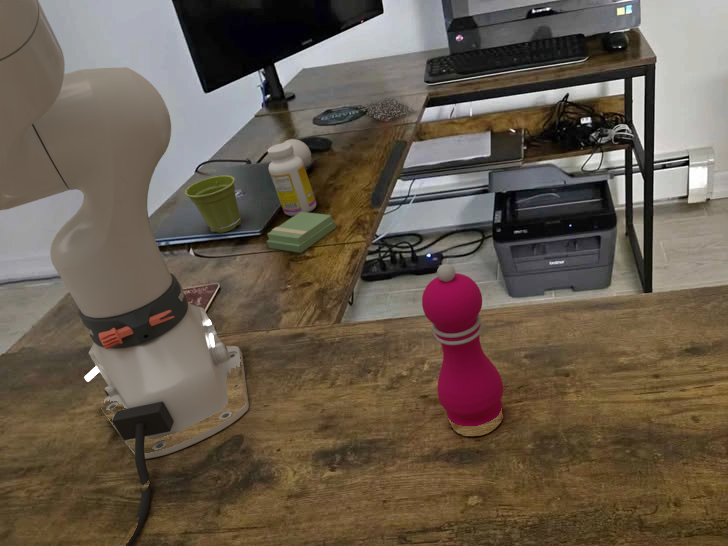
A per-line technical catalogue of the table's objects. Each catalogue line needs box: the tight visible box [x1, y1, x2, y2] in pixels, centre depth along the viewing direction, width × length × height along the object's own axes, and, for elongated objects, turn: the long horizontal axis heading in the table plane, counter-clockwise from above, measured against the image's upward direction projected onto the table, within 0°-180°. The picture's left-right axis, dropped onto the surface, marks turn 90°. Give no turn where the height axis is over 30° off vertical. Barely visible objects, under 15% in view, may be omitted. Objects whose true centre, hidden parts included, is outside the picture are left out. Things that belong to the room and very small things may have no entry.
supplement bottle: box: [267, 142, 317, 217], centre depth 131 cm, size 7×7×13 cm
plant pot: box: [184, 174, 242, 234], centre depth 131 cm, size 9×9×9 cm
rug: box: [357, 97, 415, 122], centre depth 181 cm, size 10×20×1 cm, turn 28°
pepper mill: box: [421, 263, 504, 426], centre depth 70 cm, size 7×7×20 cm
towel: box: [266, 212, 337, 254], centre depth 123 cm, size 10×8×3 cm
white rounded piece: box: [283, 138, 312, 171], centre depth 151 cm, size 10×7×7 cm
